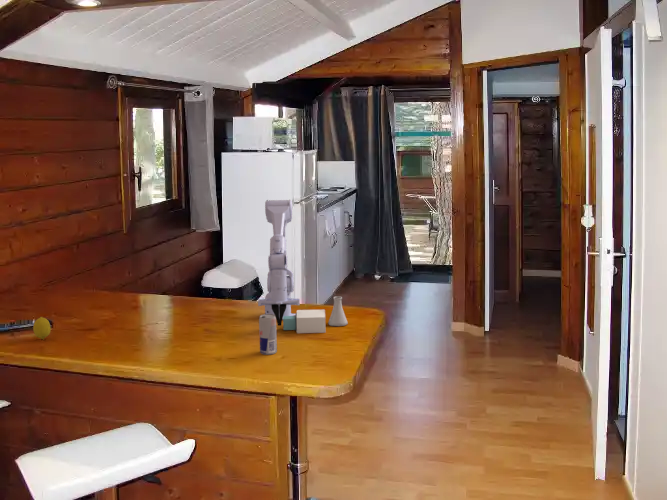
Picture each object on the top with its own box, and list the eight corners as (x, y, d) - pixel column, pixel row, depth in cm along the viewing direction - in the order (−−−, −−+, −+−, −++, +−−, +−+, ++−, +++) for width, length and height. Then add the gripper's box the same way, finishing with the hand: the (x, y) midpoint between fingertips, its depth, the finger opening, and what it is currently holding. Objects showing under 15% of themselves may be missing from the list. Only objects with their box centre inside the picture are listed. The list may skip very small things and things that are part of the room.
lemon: (54, 338, 260) (53, 315, 258) (43, 342, 255) (42, 319, 253) (41, 336, 261) (39, 314, 260) (30, 341, 256) (28, 318, 255)
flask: (347, 327, 269) (347, 299, 267) (327, 326, 269) (326, 299, 268) (348, 321, 276) (348, 295, 274) (329, 321, 276) (328, 294, 275)
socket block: (295, 333, 261) (295, 317, 260) (296, 324, 272) (295, 310, 271) (325, 332, 262) (325, 317, 261) (324, 324, 273) (324, 309, 272)
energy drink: (260, 350, 243) (259, 314, 240) (276, 349, 243) (275, 313, 241) (259, 355, 237) (258, 318, 235) (277, 354, 238) (276, 317, 236)
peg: (283, 330, 265) (283, 318, 264) (283, 326, 269) (283, 316, 268) (306, 329, 265) (306, 318, 264) (306, 326, 269) (306, 315, 268)
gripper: (257, 290, 260) (258, 328, 262) (299, 289, 260) (300, 327, 263) (258, 286, 267) (259, 323, 269) (299, 285, 267) (300, 322, 270)
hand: (279, 325), depth 266 cm, fingers closed
